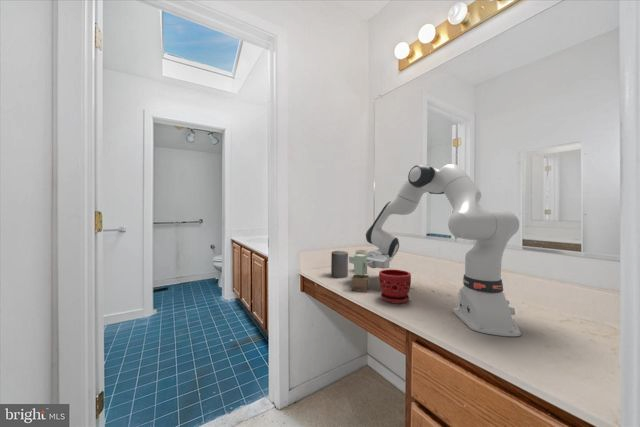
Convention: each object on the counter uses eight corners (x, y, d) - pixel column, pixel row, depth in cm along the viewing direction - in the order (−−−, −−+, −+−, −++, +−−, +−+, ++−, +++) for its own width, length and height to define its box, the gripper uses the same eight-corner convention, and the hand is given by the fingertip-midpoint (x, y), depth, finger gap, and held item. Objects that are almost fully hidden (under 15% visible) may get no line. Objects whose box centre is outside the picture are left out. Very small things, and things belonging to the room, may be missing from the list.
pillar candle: (328, 274, 148) (328, 249, 147) (342, 272, 152) (342, 248, 151) (336, 279, 139) (336, 252, 138) (351, 277, 143) (351, 250, 143)
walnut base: (367, 292, 118) (367, 279, 118) (352, 290, 120) (352, 278, 120) (368, 287, 125) (368, 275, 124) (354, 286, 126) (354, 274, 126)
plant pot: (417, 301, 106) (417, 273, 106) (395, 308, 99) (396, 277, 99) (393, 292, 117) (393, 266, 117) (372, 297, 111) (372, 270, 110)
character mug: (351, 270, 157) (351, 250, 157) (359, 269, 161) (359, 248, 161) (363, 274, 148) (363, 252, 148) (372, 272, 152) (372, 251, 152)
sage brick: (359, 272, 125) (359, 253, 125) (367, 273, 122) (367, 255, 122) (354, 273, 122) (354, 255, 122) (362, 275, 119) (362, 256, 119)
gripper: (357, 250, 138) (342, 254, 128) (392, 255, 125) (378, 260, 114) (357, 262, 138) (342, 266, 128) (392, 268, 125) (378, 273, 115)
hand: (359, 263), depth 121 cm, fingers closed on sage brick, 4 cm apart
